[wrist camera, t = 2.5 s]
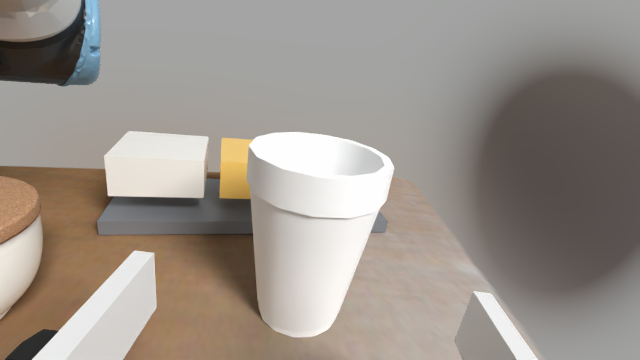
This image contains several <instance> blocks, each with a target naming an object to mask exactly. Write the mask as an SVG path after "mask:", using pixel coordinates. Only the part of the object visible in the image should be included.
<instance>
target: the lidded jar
mask: <svg viewBox="0 0 640 360" xmlns="http://www.w3.org/2000/svg"><path fill="white" fill-rule="evenodd" d="M40 209H41V204H40V199H39V195H38V192H37V191H36V190H35V188H34V187H32V186H31V185H29V184H27V183H26V182H23V181H21V180H18V179H14V178H10V177H4V176H0V320H1V319H2V318H3V317H4V316H5V315H6V314H7V313H8V311H9V310H10V309H11V307H12V305H13V304H14V303H15V302H16V301H18V299H19V298H20V297H21V296H22V295H23V294H24V293H25V291H26V290H27V289H28V287H29V286H30V284H31V283H32V281H33V279H34V277H35V275H36V273H37V271H38V268H39V265H40V261H41V255H42V248H43V230H42V222H41V217H40Z"/></svg>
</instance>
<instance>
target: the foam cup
mask: <svg viewBox="0 0 640 360" xmlns="http://www.w3.org/2000/svg"><path fill="white" fill-rule="evenodd" d="M393 170H394V166H393V164H392V162H391V161H390V159H389V157H387V156H385V155H384V154H382V153H380V152H379V151H377V150H375V149H373V148H371V147H368V146H365V145H362V144H360V143H357V142H354V141H351V140H347V139H342V138H338V137H333V136H328V135H321V134H312V133H302V132H285V133H284V132H283V133H271V134H267V135H263V136H259V137H256V138H255V139H254V140H253V141H252V142H251V143H250V145H249V149H248V163H247V177H246V180H247V182H248V184H249V186H250V196H251V211H252V226H253V241H254V256H255V271H256V286H257V300H258V308H259V311H260V314H261V317H262V320H263V321H264V322H265V323H267V324H268V325H269V326H270V327H271V328H272V329H273V330H274V331H276V332H279V333H282V334H285V335H288V336H291V337H293V338H296V337H314V336H316V335H318V334H320V333H322V332H324V331H326V330H328V329H329V328H330V326H331V325H332V323H333V322H334V320H335V319H336V317H337V314H338V312H339V310H340V308H341V305H342V303H343V300H344V297H345V295H346V292H347V290H348V287H349V285H350V282H351V280H352V277H353V275H354V272H355V270H356V267H357V265H358V262H359V260H360V257H361V255H362V252H363V250H364V247H365V245H366V242H367V240H368V237H369V235H370V232H371V230H372V227H373V225H374V222H375V219H376V217H377V214H378V212H379V209H380V207H381V206H382V205H383V204H384V203H385V202H386V199H387V195H388V191H389V187H390V183H391V179H392V175H393Z"/></svg>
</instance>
